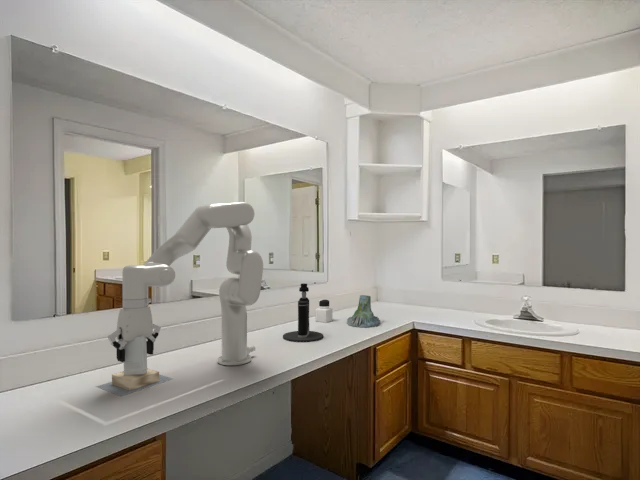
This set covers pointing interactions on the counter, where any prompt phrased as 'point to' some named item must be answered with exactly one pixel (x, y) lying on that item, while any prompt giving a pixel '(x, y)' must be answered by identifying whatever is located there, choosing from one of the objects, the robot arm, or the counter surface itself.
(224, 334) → the robot arm
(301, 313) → the vape
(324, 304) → the medicine bottle
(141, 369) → the skincare box
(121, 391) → the slate board
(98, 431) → the counter surface
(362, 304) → the tree stump
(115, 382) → the birch plinth
